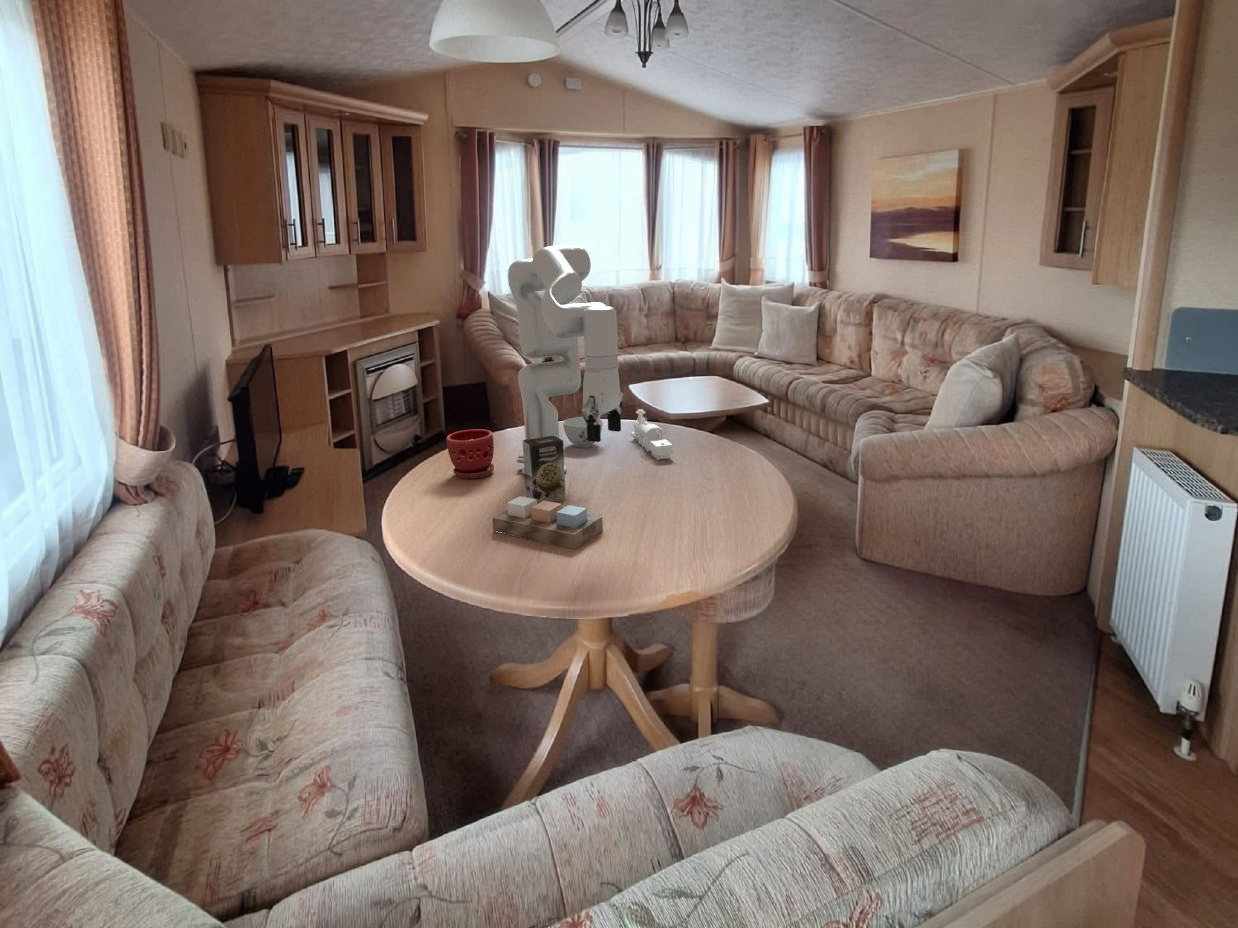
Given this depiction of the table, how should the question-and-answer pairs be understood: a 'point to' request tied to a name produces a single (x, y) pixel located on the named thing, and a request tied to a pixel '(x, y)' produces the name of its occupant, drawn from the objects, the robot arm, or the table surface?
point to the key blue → (572, 516)
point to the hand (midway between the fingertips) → (604, 436)
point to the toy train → (651, 437)
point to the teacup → (578, 431)
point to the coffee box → (544, 469)
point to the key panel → (548, 530)
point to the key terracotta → (545, 511)
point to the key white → (521, 506)
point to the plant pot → (471, 452)
